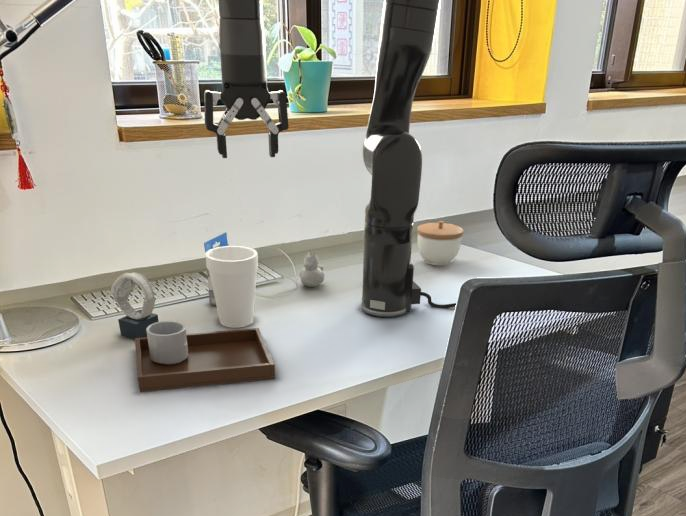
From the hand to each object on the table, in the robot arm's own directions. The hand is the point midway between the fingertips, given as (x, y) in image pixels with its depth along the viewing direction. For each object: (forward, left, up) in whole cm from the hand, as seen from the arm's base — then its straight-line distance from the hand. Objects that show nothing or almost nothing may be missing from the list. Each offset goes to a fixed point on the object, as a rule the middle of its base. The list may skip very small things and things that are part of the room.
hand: (248, 156), depth 126 cm
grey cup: (+18, +22, -28) cm, 39 cm away
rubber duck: (-14, -11, -28) cm, 33 cm away
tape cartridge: (+5, -6, -28) cm, 29 cm away
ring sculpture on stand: (+23, +8, -28) cm, 37 cm away
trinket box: (-47, -21, -28) cm, 59 cm away
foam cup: (+5, +6, -28) cm, 29 cm away
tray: (+13, +24, -28) cm, 39 cm away
